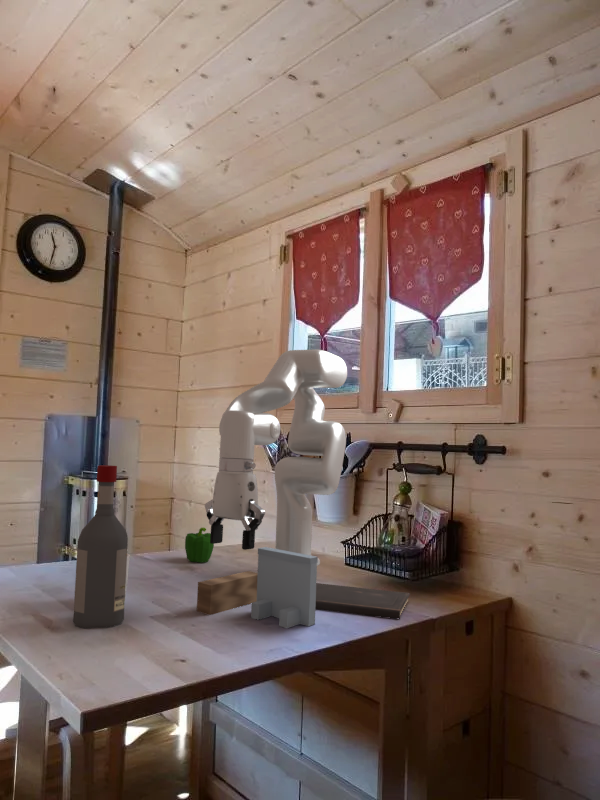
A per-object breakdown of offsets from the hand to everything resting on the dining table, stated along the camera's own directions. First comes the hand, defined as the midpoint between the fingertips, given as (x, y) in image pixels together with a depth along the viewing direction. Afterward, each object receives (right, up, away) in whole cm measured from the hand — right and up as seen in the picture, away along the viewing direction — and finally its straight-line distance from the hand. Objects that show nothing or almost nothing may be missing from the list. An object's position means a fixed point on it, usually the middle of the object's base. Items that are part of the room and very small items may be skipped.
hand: (231, 546), depth 133 cm
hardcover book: (+27, -15, +5) cm, 31 cm away
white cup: (-26, -12, -1) cm, 29 cm away
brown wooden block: (0, -13, 0) cm, 13 cm away
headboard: (+10, -13, -9) cm, 19 cm away
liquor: (-24, -11, -14) cm, 30 cm away
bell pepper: (-15, -15, +44) cm, 49 cm away
